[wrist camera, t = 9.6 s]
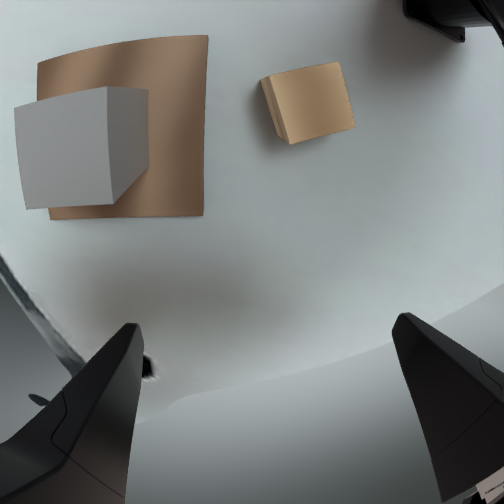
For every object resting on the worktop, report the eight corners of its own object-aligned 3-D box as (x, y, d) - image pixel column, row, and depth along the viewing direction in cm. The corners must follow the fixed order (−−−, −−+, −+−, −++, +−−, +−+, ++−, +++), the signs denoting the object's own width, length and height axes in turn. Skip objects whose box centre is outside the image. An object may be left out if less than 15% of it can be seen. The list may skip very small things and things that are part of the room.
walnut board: (208, 38, 15) (207, 35, 14) (203, 209, 21) (202, 216, 20) (46, 63, 13) (37, 62, 12) (57, 213, 19) (50, 219, 18)
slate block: (148, 89, 15) (107, 86, 9) (149, 165, 17) (113, 203, 11) (77, 99, 14) (14, 108, 8) (81, 170, 17) (26, 209, 11)
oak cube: (316, 67, 16) (338, 61, 13) (331, 121, 18) (355, 127, 15) (259, 80, 17) (269, 75, 13) (277, 135, 19) (290, 144, 15)
